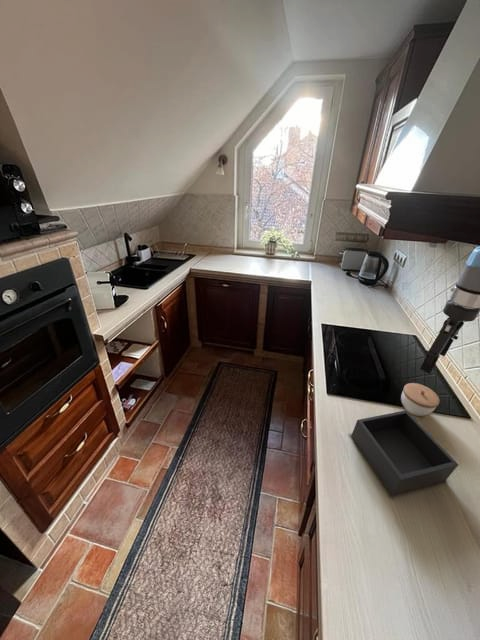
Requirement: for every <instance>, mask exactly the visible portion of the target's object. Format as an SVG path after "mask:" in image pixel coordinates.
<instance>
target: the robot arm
mask: <svg viewBox="0 0 480 640" xmlns="http://www.w3.org/2000/svg"><path fill="white" fill-rule="evenodd" d="M449 291H451V293H450V295H449V299H448V300H447V301H446V302H445V305H444V307H443V309H442V312H443V314H444V315H445V316H447V319H445V320H444V322H443V323H442V327H441V328H440V330H439V333H438V334H437V336H436V338H435V339H434V341H433V342H432V344H431V346H430V348H429V349H426V350H425V353H426V357H425V358H424V360H423V362H422V364H421V366H420V368H419V370H420V371H423V372H425V373H426V374H429V375H430V374H431V373H432V371H433V369H434V367H435V366H436V364H437V362H438V360H439V358H440V356H442V357H445V356H446V355H447V353H448V351H449V349H450V348H451V346H452V344H453V342H454V341H458V339H459V336H458V335H459V331H460V330H461V329H462V327H463V326H464V324H465V322H466V323H467V322H473V321H475V320H476V319H477V317H478V315H479V313H480V245H479V246H477V247H475V248H474V249H473V251H472V252H471V253H470V255H469V257H468V258H467V260H466V261H465V265H464V267H463V268H462V271H461V273H460V275H459V278H458V279H457V282H456V283H455V286H454V287H451V288H450V289H449Z"/></svg>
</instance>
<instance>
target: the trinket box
mask: <svg viewBox="0 0 480 640" xmlns="http://www.w3.org/2000/svg"><path fill="white" fill-rule="evenodd" d="M400 401H401V405H402V406H403V408H404V410H407V411H408V412H409V413H410V414H411V415H412V416H416V417H419V416H420V417H421V416H422V417H423V416H424V417H425V416H427V415H430V414H432V413H433V412H434V411H435V410H436V409H437V407H438V406H439V404H440V398H439V396H438V394H437V393H436V392H435V391H434V390H433V389H431V388H430V387H427V386H426V385H423V384H421V383H417V382H410V383H406V384H405V385H404V386H403V389H402V392H401V395H400Z"/></svg>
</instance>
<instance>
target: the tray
mask: <svg viewBox="0 0 480 640" xmlns="http://www.w3.org/2000/svg"><path fill="white" fill-rule="evenodd" d="M350 437H351V438H352V439H353V441H354V442H355V444H356V445H357V447H358V449H359V450H360V451H361V454H362V455H363V456H364V458H365V459H366V460H367V462H368V464H369V466H370V467H371V468H372V469H373V471H374V472H375V474H376V476H377V477H378V479H379V480H380V482H381V483H382V485H383V486H384V488H385V489H386V491H387V492H388V494H389V495H390V496H395V495H398V494H402V493H406V492H409V491H413V490H418V489H421V488H424V487H428V486H432V485H436V484H439V483H442V482H446V481H447V480H448V479H449V477H450V476H451V475H452V474H453V472H454V471H455V470H456V469H457V468H458V466H459V463H458V462H457V461H456V460H455V459H454V457H452V456H451V454H449V453H448V451H446V450H445V449H444V448H443V446H442V445H441V444H440V443H439V442H438V441H437V440H436V439H435V438H434V437H433V436H432V435H431V434H430V433H429V432H428V431H427V430H426V429H425V427H424V426H422V425H421V424H420V423H419V421H417V419H416V418H415V417H413V415H412V414H411V413H409V412H408V411H407V410H406V409H404V410H400V411H395V412H389V413H385V414H380V415H375V416H370V417H365V418H360V419H357V420H356V423H355V424H354V428H353V431H352V432H351V436H350Z"/></svg>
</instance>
